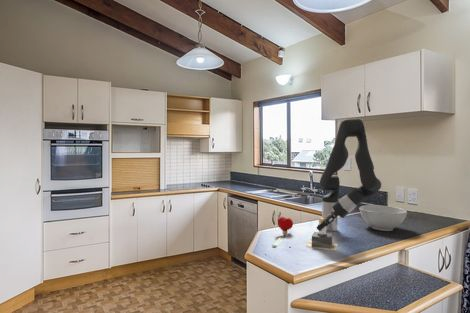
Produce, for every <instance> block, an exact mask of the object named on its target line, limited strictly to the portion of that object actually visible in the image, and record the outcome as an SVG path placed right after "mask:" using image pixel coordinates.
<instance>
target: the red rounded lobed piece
mask: <svg viewBox="0 0 470 313" xmlns="http://www.w3.org/2000/svg"><path fill="white" fill-rule="evenodd" d="M277 226H278V228H279V229H280V230H281V231H282V235H283V236H287V235H288V230H291V229H292V228H293V226H294V222H293V220H292V219H291V218H290V217H288V218H286V217H285V216H281V217H279V218H278V219H277Z"/></svg>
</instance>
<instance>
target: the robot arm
mask: <svg viewBox="0 0 470 313" xmlns="http://www.w3.org/2000/svg"><path fill="white" fill-rule="evenodd" d="M352 137H353V138H354V137H355V138H356V139H357V141H358V142H357V148H356V151H355V154H354V158H355V159H354V160H355V163H356V166H357V169H358V171H359V179H360V183H361V185H360V186H359V187H354V188H353V189H351V190H349V192H348V193H347V194H345V195H344V196H342V197H341V198H340V199H339V195H340V185H341V184H340V183H341V182H340V177H339V175H336V174H335V173H337V172H338V171H340V170H341V169H342V168H344V166H345V165H346V163H347V161H348V158H349V152H348V151H349V150H348V148H347V146H346V140H347V138H352ZM330 152H331V153H330V156H329V157H328V161H327V164H326V167H325V169H324V171H323V172H322V174H321V177H320V180H319V188H320V189H321V190H322V191H330V192H329V193H327V194H324V195H323V196H322V198H321V200H322V201H321V202H322V203H321V218H325V220H324V221H323V222H322V223H321V224H320V225H319V224H317V226H316V230H318V232H319V231H320V230H321V229H323V228H324V227H325V226H326V232H337V231H338V225H339V224H338V222H339V218H341V219H344V218H345V217H346V216H348V215H349V214H350V213H351V212H352V211H354V210H355V208H356V207H357V206H359V205H360V204H362V202H363V201H365V200H366V199H368V198H370V197H372V196H374V195H375V194H376V193H378V192H379V191H380V189H381V188H382V182H381V180H380V179H379V178H378V177H377V176H376V174H375V171H374V169H375V166H374V165H375V164H374V162H373V160H372V157H371V154H370V150H369V145H368V139H367V135H366V129H365V124H364V122H363V120H361V119H360V118H346V119H345V118H344V119H343V120H341V121H340V124H339V126H338V130H337V133H336V138H335V142H334V144H333V148H332V149H331V151H330ZM325 222H326V223H325Z"/></svg>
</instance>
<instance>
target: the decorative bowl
mask: <svg viewBox="0 0 470 313" xmlns="http://www.w3.org/2000/svg"><path fill="white" fill-rule="evenodd" d="M359 213H360V214H361V217H362V218H363V220H364V221H365V222H366V224H368V225H369V226H371V227H370V228H371V229H373V230H375V231H376V230H377V231H381V232H390V231H393V230H394V228H397V227H398V226H400V225H401V224H402V223H403V221H404V220H405V219H406V217H407V214H408V211H407V210H406V209H403V208H400V207H395V206H389V205H388V206H387V205H378V204H377V205H376V204H373V205H371V204H369V205H367V204H366V205H361V206H360V207H359Z"/></svg>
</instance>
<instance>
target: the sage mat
mask: <svg viewBox="0 0 470 313" xmlns="http://www.w3.org/2000/svg"><path fill="white" fill-rule="evenodd" d="M284 239H285V238H284V237H279V238H277V240H276V241H274V243H273V244H272V248H277V247H278V246H279V245H280V244H281V242H282V241H283V240H284Z"/></svg>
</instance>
